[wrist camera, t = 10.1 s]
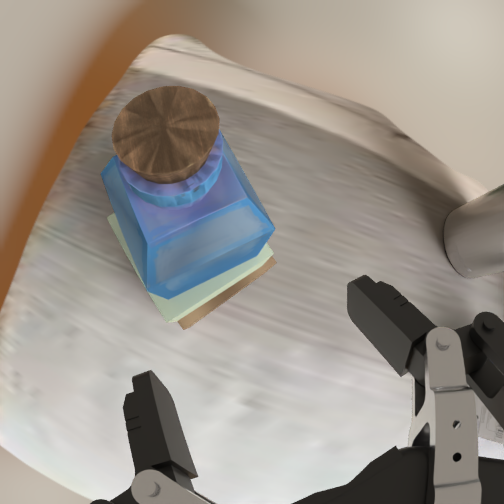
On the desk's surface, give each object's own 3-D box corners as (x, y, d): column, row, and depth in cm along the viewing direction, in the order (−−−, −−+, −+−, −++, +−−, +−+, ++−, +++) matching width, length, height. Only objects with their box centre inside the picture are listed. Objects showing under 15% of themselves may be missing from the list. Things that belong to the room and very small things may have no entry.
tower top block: (208, 185, 26) (207, 157, 21) (262, 265, 25) (273, 253, 20) (125, 236, 24) (106, 217, 20) (176, 321, 24) (166, 322, 19)
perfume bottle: (130, 213, 20) (52, 103, 8) (214, 174, 21) (218, 36, 9) (168, 299, 19) (100, 271, 7) (257, 255, 20) (313, 172, 8)
